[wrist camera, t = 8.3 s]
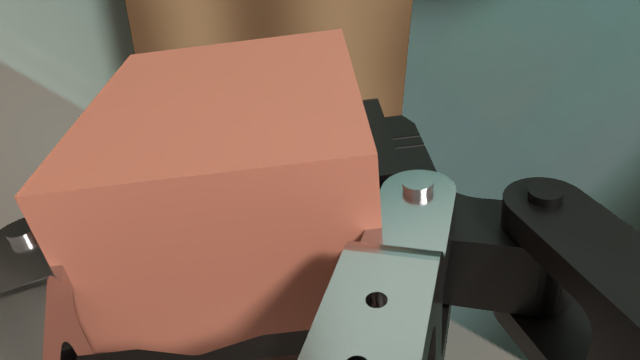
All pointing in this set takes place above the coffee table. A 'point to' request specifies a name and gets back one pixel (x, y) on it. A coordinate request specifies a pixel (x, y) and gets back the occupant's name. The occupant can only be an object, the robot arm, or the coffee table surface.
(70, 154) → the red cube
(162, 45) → the walnut block
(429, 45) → the coffee table surface
